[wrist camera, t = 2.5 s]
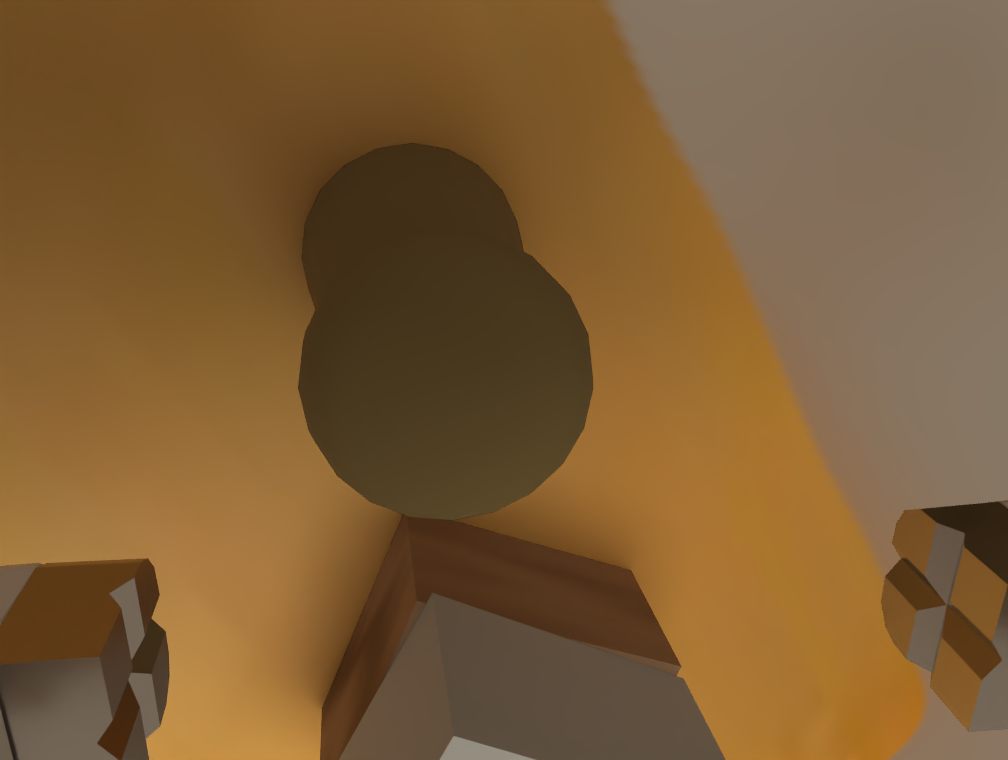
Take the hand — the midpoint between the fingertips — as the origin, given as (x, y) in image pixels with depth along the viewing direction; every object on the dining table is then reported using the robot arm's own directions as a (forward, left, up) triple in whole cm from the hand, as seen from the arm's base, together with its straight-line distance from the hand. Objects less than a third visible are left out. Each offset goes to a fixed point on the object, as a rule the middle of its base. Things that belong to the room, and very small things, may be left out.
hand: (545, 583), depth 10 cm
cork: (0, 0, -16) cm, 16 cm away
